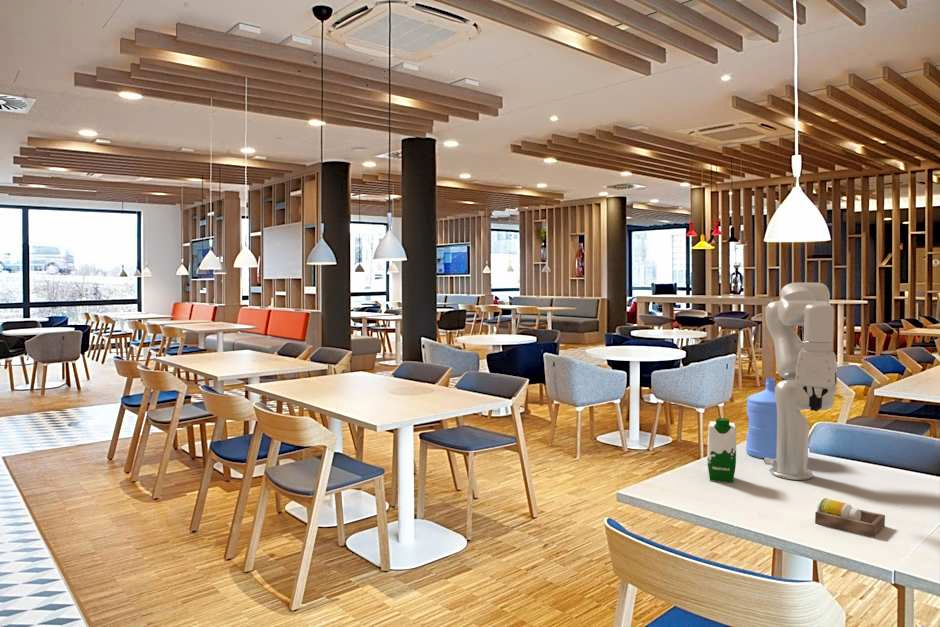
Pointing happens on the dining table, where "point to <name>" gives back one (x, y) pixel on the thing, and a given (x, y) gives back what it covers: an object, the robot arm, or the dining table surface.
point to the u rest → (853, 522)
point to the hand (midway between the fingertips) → (815, 409)
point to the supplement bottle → (838, 509)
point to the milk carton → (721, 450)
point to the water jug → (762, 422)
